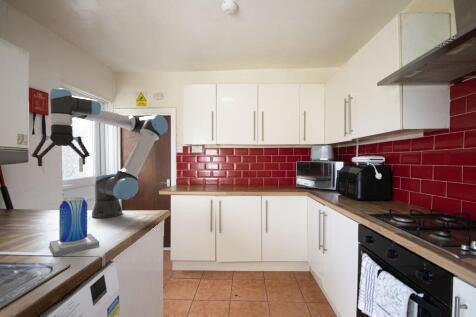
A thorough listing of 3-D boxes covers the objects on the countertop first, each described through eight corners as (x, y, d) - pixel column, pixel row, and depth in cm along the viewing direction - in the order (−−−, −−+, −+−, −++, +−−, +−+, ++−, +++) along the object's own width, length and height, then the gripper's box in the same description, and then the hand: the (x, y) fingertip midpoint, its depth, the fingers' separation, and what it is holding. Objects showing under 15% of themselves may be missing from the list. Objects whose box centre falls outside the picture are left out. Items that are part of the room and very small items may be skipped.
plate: (90, 237, 95) (90, 233, 95) (99, 245, 86) (99, 241, 86) (49, 245, 85) (49, 241, 85) (54, 256, 76) (54, 251, 76)
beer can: (89, 241, 85) (89, 198, 85) (61, 248, 79) (61, 201, 79) (84, 236, 91) (84, 196, 91) (57, 241, 85) (57, 198, 85)
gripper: (91, 127, 113) (92, 170, 113) (21, 122, 94) (23, 174, 94) (96, 126, 108) (97, 171, 108) (24, 121, 89) (26, 175, 89)
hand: (63, 173), depth 101 cm, fingers open, 13 cm apart
